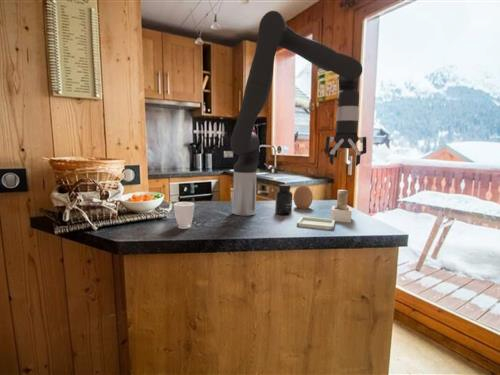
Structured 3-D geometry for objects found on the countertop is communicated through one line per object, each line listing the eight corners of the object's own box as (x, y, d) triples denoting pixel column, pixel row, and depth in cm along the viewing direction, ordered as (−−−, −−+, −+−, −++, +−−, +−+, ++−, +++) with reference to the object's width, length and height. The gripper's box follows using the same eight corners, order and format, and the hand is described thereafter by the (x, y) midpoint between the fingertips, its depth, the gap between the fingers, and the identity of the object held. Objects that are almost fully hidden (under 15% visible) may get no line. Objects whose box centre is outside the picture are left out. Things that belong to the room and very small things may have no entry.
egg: (300, 206, 136) (301, 182, 134) (315, 209, 130) (316, 184, 128) (289, 209, 130) (290, 184, 128) (305, 212, 124) (306, 186, 123)
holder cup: (330, 222, 109) (331, 209, 108) (331, 218, 115) (332, 205, 115) (350, 224, 107) (351, 211, 106) (350, 220, 113) (351, 207, 112)
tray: (296, 228, 100) (296, 222, 100) (301, 221, 110) (301, 216, 109) (333, 232, 97) (333, 226, 96) (334, 224, 106) (334, 219, 106)
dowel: (335, 220, 110) (337, 190, 108) (336, 217, 113) (338, 189, 111) (345, 220, 109) (347, 191, 107) (346, 218, 112) (347, 190, 110)
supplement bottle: (291, 216, 118) (292, 186, 116) (274, 215, 119) (275, 185, 118) (292, 212, 125) (293, 184, 123) (276, 211, 126) (276, 183, 124)
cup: (172, 230, 96) (172, 206, 95) (175, 222, 106) (175, 200, 105) (194, 229, 97) (194, 205, 96) (195, 221, 107) (195, 199, 106)
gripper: (326, 119, 104) (323, 165, 107) (369, 119, 100) (365, 166, 102) (327, 121, 111) (325, 163, 114) (367, 120, 107) (364, 165, 109)
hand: (344, 165), depth 108 cm, fingers open, 8 cm apart
